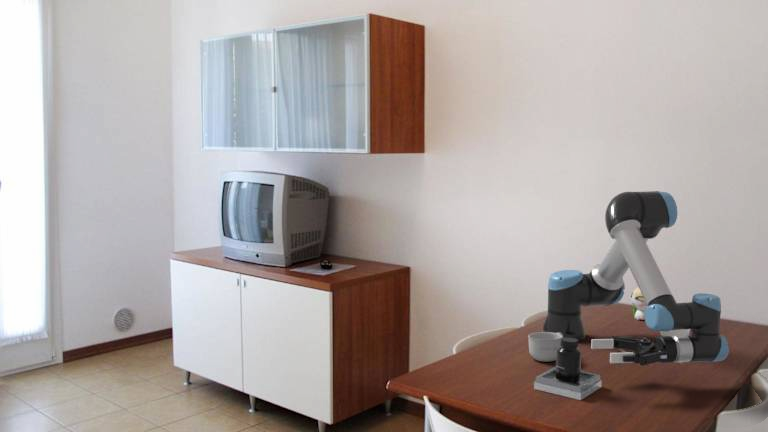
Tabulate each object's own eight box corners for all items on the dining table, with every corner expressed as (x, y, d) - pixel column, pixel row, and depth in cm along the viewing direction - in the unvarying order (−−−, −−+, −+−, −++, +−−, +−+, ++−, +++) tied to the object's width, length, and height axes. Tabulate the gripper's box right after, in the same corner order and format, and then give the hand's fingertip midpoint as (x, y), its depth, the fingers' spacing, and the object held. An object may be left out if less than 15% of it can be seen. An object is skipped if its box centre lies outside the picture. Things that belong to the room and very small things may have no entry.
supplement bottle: (553, 382, 205) (554, 341, 204) (557, 375, 211) (558, 335, 210) (578, 386, 202) (580, 343, 201) (581, 378, 209) (583, 337, 207)
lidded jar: (687, 346, 250) (688, 319, 249) (654, 341, 256) (655, 315, 255) (692, 338, 259) (693, 313, 258) (661, 334, 265) (662, 309, 264)
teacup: (542, 366, 226) (543, 341, 226) (520, 356, 236) (521, 332, 235) (576, 360, 233) (577, 335, 232) (553, 351, 242) (554, 327, 242)
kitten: (622, 314, 294) (624, 278, 292) (646, 314, 295) (648, 277, 293) (639, 324, 279) (641, 285, 277) (664, 323, 280) (666, 285, 278)
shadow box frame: (534, 388, 206) (534, 376, 205) (556, 376, 217) (556, 365, 216) (580, 400, 197) (581, 387, 197) (601, 386, 208) (601, 375, 207)
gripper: (694, 376, 197) (618, 378, 195) (651, 349, 222) (584, 351, 219) (695, 349, 196) (619, 350, 194) (652, 325, 221) (585, 326, 219)
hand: (600, 350), depth 207 cm, fingers open, 13 cm apart
